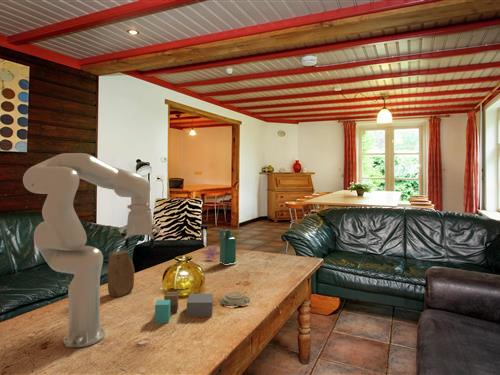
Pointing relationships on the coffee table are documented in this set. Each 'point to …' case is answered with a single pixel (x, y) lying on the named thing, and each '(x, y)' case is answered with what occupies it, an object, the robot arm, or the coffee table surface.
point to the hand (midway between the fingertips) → (139, 247)
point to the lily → (211, 252)
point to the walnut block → (172, 301)
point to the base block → (199, 305)
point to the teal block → (162, 311)
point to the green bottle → (227, 247)
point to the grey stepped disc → (234, 299)
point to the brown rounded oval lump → (120, 273)
